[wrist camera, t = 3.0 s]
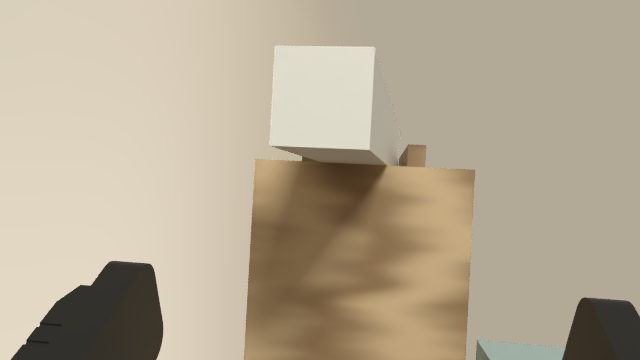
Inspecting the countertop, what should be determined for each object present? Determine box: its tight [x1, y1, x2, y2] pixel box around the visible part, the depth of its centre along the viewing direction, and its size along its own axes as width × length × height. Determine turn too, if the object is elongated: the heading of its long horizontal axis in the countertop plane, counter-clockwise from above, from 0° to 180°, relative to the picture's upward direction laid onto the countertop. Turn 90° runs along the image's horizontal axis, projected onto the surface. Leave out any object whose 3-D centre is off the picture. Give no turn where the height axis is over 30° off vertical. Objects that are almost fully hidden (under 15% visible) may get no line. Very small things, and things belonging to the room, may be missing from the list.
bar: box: [269, 46, 400, 166], centre depth 28 cm, size 3×23×3 cm, turn 170°
